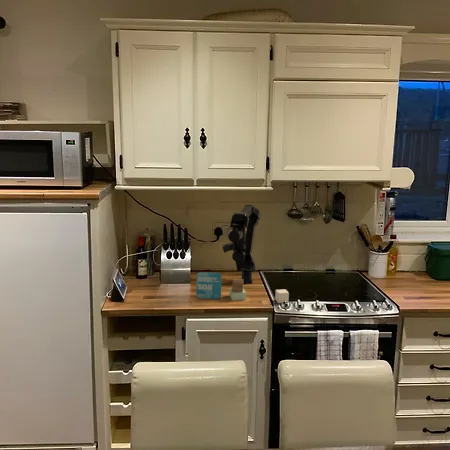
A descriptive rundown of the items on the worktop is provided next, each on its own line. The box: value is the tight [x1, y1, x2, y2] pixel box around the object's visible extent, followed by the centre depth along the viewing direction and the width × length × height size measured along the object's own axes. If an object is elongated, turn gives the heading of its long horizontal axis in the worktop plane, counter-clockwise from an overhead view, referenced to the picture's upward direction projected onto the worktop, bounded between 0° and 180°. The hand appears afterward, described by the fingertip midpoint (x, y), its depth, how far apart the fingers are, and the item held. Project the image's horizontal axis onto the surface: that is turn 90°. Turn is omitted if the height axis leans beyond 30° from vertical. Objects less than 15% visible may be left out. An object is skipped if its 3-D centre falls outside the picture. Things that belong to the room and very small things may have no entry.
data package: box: [195, 271, 222, 300], centre depth 227 cm, size 12×4×12 cm, turn 89°
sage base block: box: [229, 287, 247, 301], centre depth 228 cm, size 7×7×4 cm
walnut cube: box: [231, 278, 244, 292], centre depth 227 cm, size 5×5×5 cm
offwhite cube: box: [274, 288, 290, 304], centre depth 225 cm, size 5×5×5 cm
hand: (238, 268), depth 236 cm, fingers open, 9 cm apart
